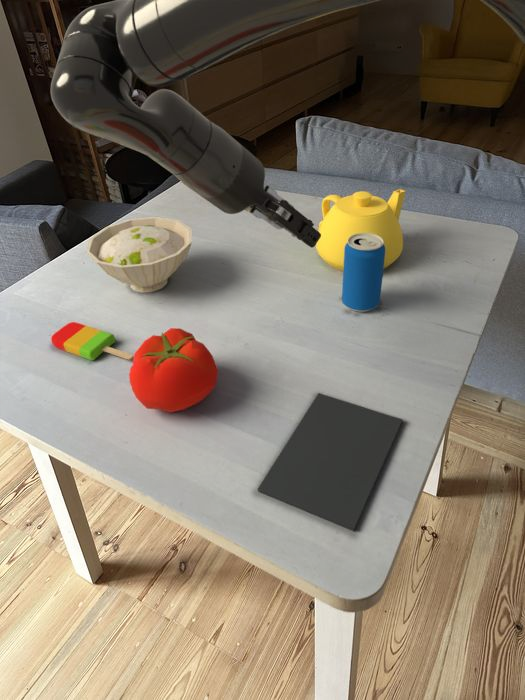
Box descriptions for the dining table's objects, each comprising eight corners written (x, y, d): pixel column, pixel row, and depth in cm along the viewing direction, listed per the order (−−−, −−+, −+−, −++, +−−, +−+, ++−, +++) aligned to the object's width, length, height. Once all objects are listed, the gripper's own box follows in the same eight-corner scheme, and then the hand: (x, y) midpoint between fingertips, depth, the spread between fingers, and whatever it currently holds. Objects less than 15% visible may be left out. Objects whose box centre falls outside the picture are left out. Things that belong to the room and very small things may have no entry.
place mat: (318, 395, 75) (318, 392, 75) (402, 422, 71) (402, 419, 70) (257, 491, 63) (257, 488, 63) (354, 531, 59) (354, 528, 58)
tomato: (204, 431, 71) (196, 384, 66) (120, 416, 74) (105, 369, 69) (233, 370, 81) (228, 324, 75) (158, 359, 84) (148, 314, 78)
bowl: (105, 322, 92) (91, 271, 86) (91, 270, 106) (77, 224, 100) (212, 295, 97) (206, 245, 91) (185, 249, 111) (177, 203, 105)
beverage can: (350, 290, 96) (354, 228, 89) (384, 298, 93) (392, 236, 86) (335, 308, 92) (338, 245, 84) (371, 318, 89) (377, 254, 82)
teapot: (360, 287, 97) (365, 222, 89) (291, 251, 108) (290, 190, 100) (430, 250, 106) (440, 188, 98) (359, 220, 118) (363, 162, 110)
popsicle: (74, 328, 91) (71, 319, 90) (143, 352, 85) (141, 342, 84) (50, 346, 87) (46, 337, 86) (121, 372, 81) (118, 363, 80)
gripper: (268, 155, 57) (346, 224, 69) (204, 125, 67) (282, 190, 78) (230, 215, 58) (313, 273, 70) (172, 177, 68) (254, 234, 80)
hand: (296, 229), depth 74 cm, fingers open, 8 cm apart
